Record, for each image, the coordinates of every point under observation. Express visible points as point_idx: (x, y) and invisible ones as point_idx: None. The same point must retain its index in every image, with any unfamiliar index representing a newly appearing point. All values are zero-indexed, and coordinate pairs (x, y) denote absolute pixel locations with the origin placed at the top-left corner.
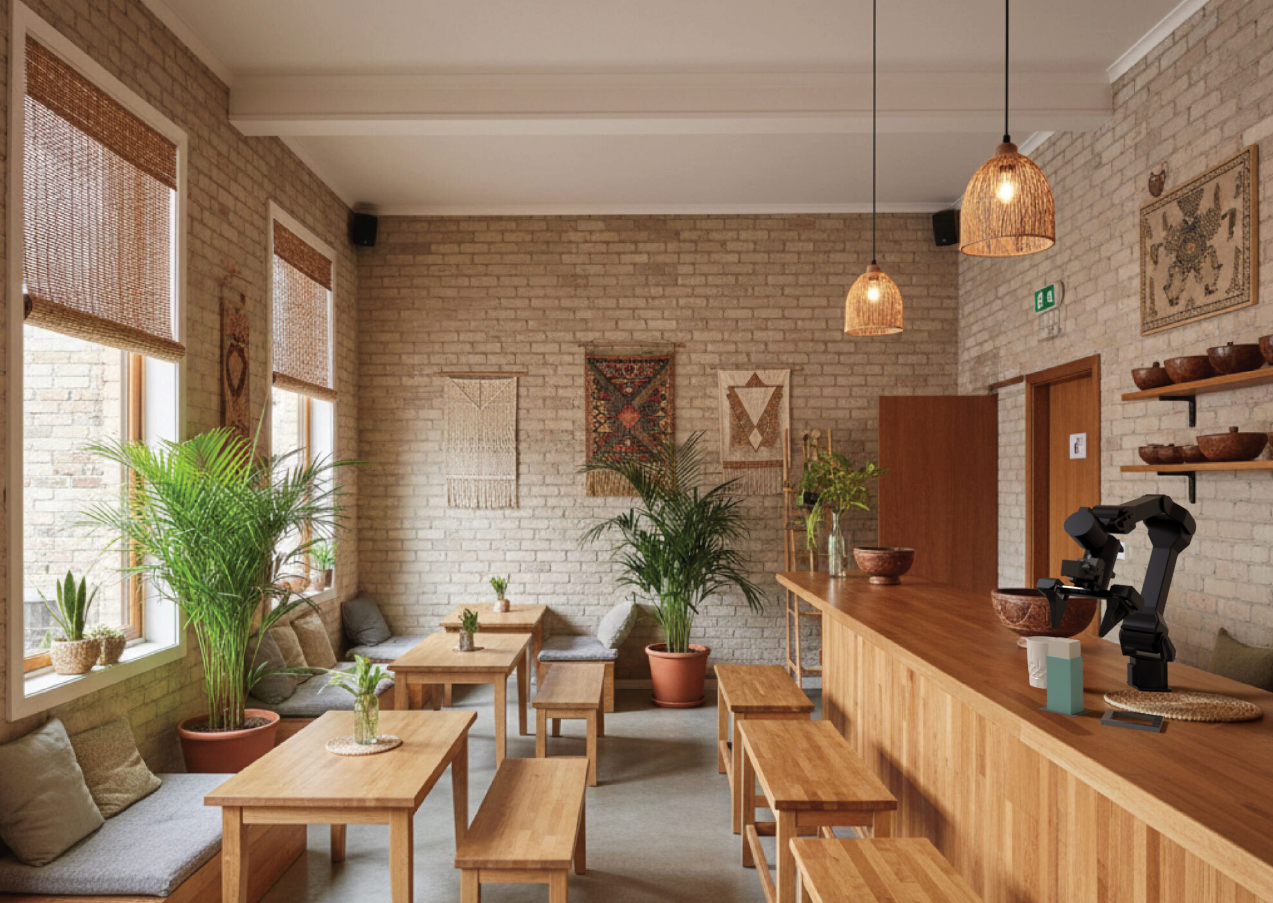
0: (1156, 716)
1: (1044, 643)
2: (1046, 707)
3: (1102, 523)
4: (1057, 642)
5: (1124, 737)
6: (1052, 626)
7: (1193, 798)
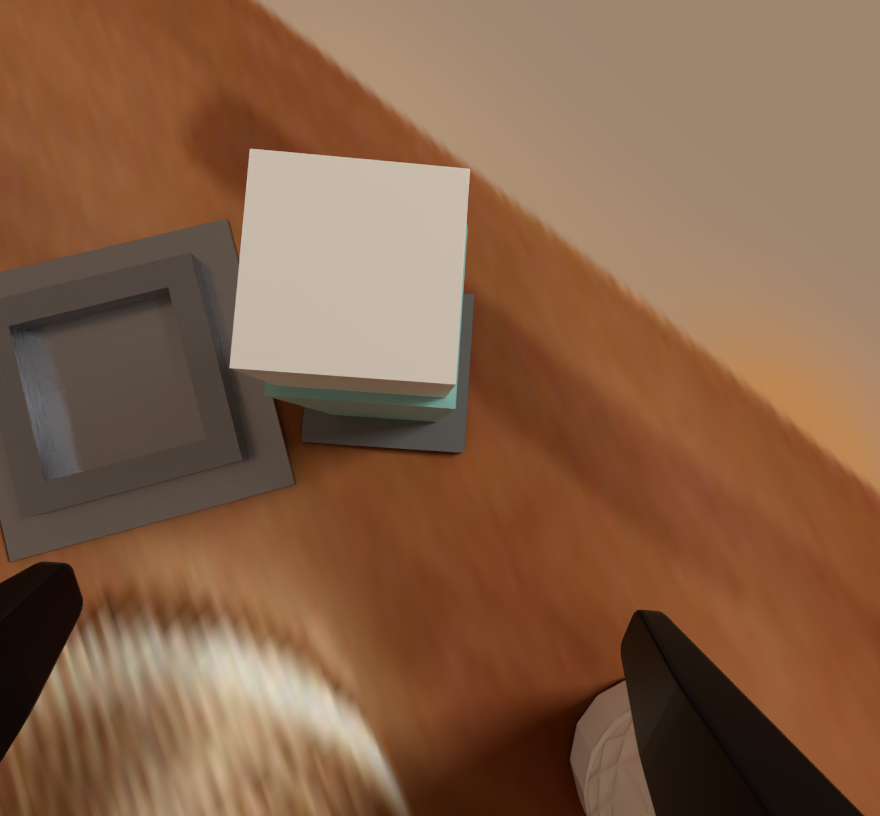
0: (41, 488)
1: None
2: (460, 346)
3: None
4: (375, 168)
5: (86, 189)
6: (662, 624)
7: None
